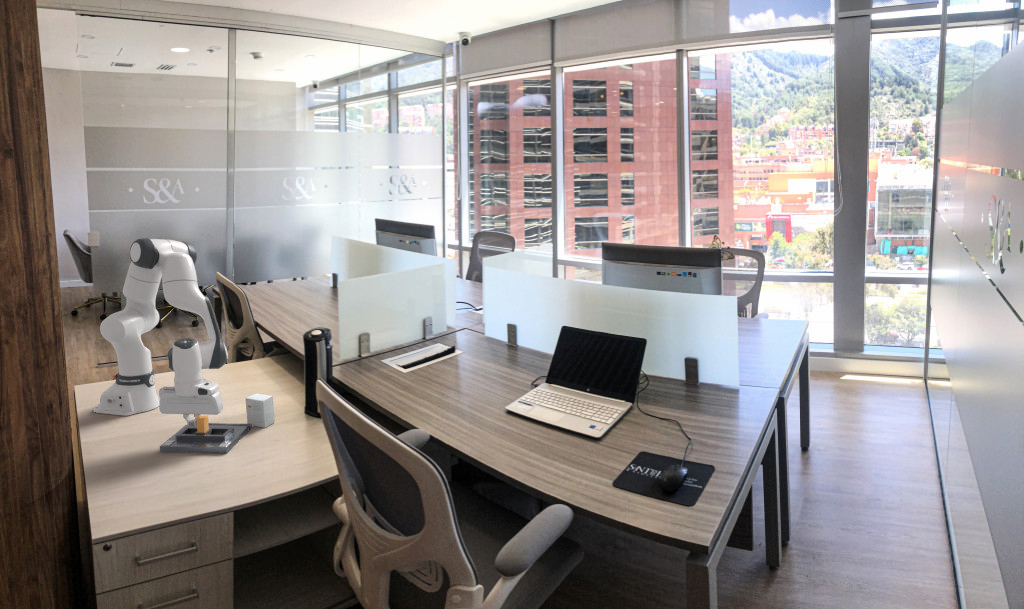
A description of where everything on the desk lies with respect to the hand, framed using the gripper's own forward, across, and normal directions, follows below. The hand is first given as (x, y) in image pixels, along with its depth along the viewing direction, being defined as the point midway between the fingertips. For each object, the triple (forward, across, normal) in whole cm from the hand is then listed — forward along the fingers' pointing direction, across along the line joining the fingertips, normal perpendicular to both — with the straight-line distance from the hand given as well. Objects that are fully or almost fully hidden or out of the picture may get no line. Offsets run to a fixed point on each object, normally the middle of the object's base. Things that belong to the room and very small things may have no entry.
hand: (192, 425), depth 222 cm
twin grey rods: (+6, +4, +12) cm, 13 cm away
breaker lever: (+4, +3, 0) cm, 5 cm away
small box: (+6, +17, +16) cm, 24 cm away
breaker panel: (+6, +4, 0) cm, 7 cm away
